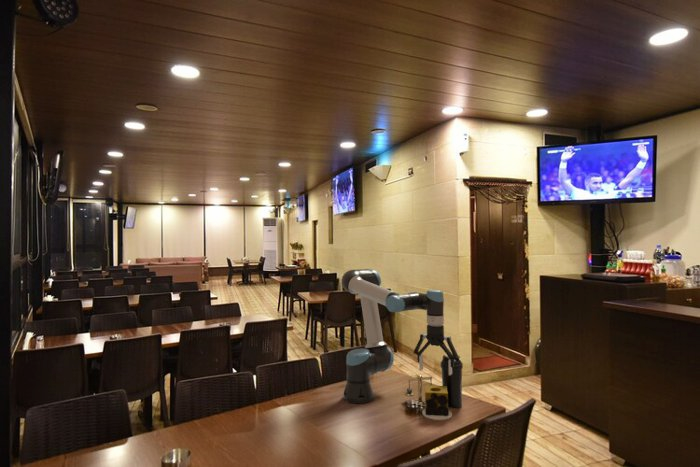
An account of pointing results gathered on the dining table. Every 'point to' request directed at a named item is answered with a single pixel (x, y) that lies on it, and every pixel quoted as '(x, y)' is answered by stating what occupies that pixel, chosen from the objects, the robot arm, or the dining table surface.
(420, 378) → the balance
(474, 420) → the dining table surface
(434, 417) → the dish
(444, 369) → the water bottle
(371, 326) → the robot arm
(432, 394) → the candle
